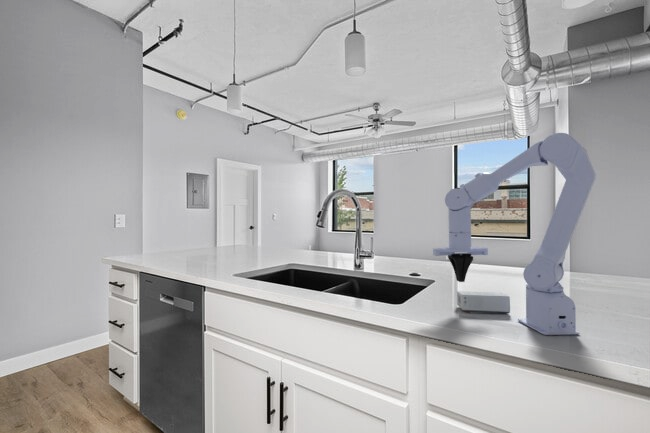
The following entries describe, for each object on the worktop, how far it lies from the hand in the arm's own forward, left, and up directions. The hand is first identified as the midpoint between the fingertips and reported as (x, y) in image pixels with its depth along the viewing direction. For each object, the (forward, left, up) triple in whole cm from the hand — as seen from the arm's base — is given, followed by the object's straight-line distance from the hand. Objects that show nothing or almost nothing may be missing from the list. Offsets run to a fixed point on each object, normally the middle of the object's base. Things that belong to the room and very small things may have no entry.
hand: (460, 281), depth 87 cm
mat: (0, -6, -8) cm, 10 cm away
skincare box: (0, +1, -5) cm, 5 cm away
